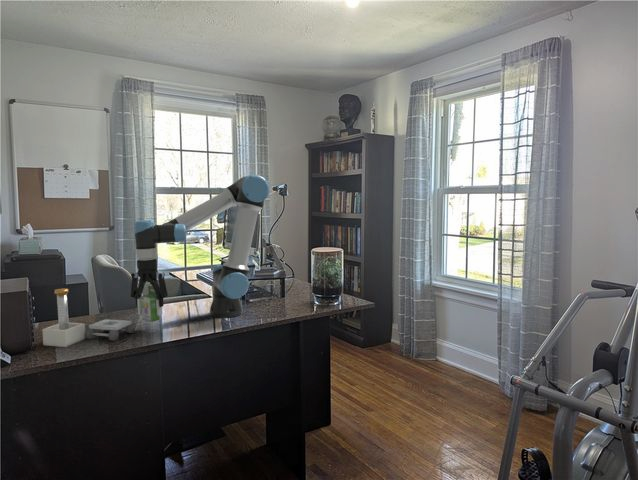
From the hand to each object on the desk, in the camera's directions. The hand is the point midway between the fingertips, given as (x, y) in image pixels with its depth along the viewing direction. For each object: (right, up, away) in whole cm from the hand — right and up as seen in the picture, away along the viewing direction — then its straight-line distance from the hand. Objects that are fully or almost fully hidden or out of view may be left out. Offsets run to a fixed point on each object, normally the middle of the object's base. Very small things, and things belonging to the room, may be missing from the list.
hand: (150, 314), depth 178 cm
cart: (-12, -7, -7) cm, 16 cm away
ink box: (0, -3, 0) cm, 3 cm away
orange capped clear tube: (-26, -7, -15) cm, 31 cm away
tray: (-26, -8, -15) cm, 31 cm away
